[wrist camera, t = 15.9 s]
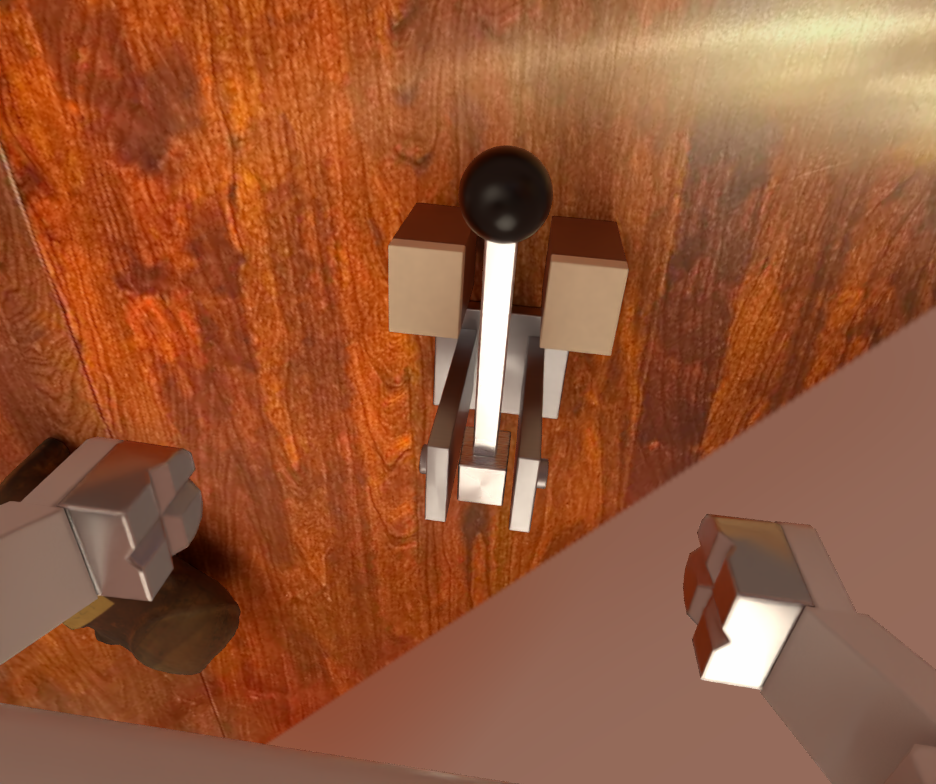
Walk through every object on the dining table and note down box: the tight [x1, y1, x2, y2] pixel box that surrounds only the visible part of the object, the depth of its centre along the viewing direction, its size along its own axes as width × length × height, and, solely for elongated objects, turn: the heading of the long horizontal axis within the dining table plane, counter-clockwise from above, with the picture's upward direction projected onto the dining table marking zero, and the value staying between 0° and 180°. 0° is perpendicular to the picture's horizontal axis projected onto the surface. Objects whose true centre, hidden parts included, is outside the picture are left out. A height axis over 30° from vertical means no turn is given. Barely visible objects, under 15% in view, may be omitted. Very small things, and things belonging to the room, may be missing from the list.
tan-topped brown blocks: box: [388, 203, 629, 355], centre depth 33 cm, size 11×4×7 cm, turn 87°
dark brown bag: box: [0, 438, 240, 675], centre depth 49 cm, size 12×20×8 cm, turn 48°
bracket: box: [419, 301, 569, 532], centre depth 34 cm, size 7×8×13 cm
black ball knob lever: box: [457, 146, 553, 506], centre depth 25 cm, size 17×3×3 cm, turn 176°
